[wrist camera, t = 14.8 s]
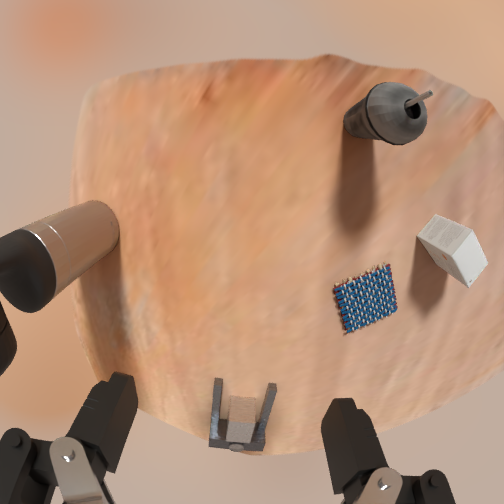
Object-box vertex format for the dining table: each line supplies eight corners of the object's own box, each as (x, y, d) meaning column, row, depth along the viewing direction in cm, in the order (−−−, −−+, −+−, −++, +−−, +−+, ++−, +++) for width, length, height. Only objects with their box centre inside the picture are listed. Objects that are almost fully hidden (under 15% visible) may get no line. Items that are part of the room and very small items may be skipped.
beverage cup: (361, 156, 37) (446, 163, 18) (324, 123, 35) (389, 97, 17) (387, 123, 35) (477, 111, 16) (352, 89, 34) (427, 48, 15)
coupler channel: (211, 427, 56) (208, 449, 49) (214, 377, 50) (211, 403, 44) (261, 431, 56) (262, 454, 50) (276, 383, 51) (278, 409, 44)
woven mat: (396, 306, 46) (400, 312, 44) (344, 329, 47) (347, 336, 45) (387, 257, 43) (392, 262, 41) (330, 282, 44) (333, 287, 42)
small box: (453, 242, 41) (489, 263, 31) (435, 264, 43) (469, 289, 33) (435, 212, 39) (473, 228, 30) (415, 235, 41) (451, 257, 31)
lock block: (227, 417, 55) (225, 441, 48) (230, 395, 52) (228, 421, 45) (249, 419, 55) (249, 443, 48) (255, 397, 52) (255, 423, 45)
